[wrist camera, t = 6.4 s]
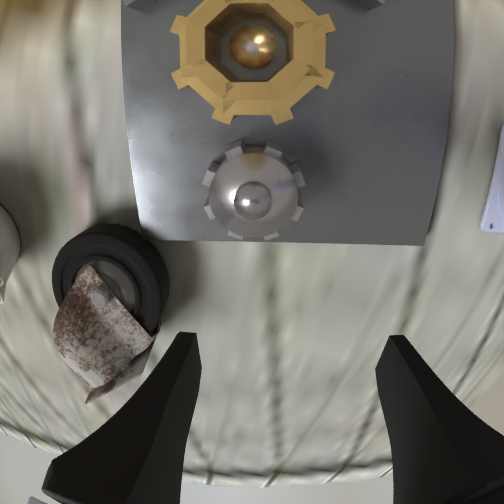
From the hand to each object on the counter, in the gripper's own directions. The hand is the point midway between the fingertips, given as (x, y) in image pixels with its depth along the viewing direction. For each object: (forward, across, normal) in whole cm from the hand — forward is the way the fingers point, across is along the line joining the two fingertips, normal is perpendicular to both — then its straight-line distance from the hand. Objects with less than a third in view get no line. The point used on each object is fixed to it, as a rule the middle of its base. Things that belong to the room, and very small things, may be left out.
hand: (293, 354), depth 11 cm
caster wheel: (+10, +12, +5) cm, 17 cm away
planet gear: (+9, +2, -10) cm, 14 cm away
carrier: (+10, 0, -8) cm, 13 cm away
